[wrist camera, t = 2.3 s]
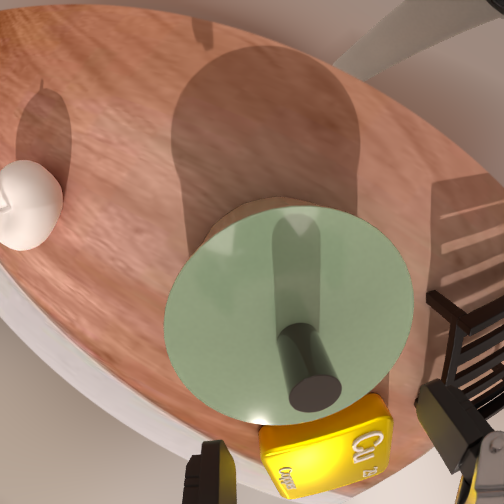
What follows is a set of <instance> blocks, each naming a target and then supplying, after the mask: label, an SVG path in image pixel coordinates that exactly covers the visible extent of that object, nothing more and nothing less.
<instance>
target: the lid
mask: <svg viewBox="0 0 504 504" xmlns="http://www.w3.org/2000/svg"><path fill="white" fill-rule="evenodd" d="M413 311H414V294H413V287H412V282H411V277H410V275H409V272H408V269H407V266H406V264H405V262H404V260H403V258H402V257H401V255H400V253H399V251H398V250H397V249H396V247H395V246H394V245H393V244H392V242H391V241H390V240H389V239H388V238H387V237H386V236H385V235H384V234H383V233H382V232H380V231H379V230H378V229H377V228H375V227H374V226H372V225H371V224H369V223H368V222H366V221H365V220H363V219H361V218H359V217H357V216H354V215H352V214H350V213H348V212H345V211H342V210H338V209H335V208H331V207H326V206H318V205H310V204H303V205H285V206H279V207H272V208H268V209H265V210H261V211H258V212H255V213H251V214H249V215H247V216H244V217H242V218H240V219H238V220H236V221H233V222H232V223H230V224H228V225H227V226H225V227H224V228H222V229H220V230H219V231H217V232H216V233H214V234H213V235H212V236H211V237H210V238H208V239H207V240H206V241H205V242H204V243H202V244H201V245H200V246H199V247H198V249H197V250H196V251H195V252H194V253H193V254H192V255H191V256H190V257H189V259H188V260H187V261H186V263H185V264H184V266H183V267H182V269H181V270H180V272H179V274H178V275H177V278H176V280H175V282H174V284H173V286H172V288H171V291H170V293H169V297H168V300H167V304H166V307H165V315H164V340H165V345H166V349H167V353H168V356H169V359H170V361H171V364H172V366H173V368H174V370H175V372H176V373H177V375H178V377H179V378H180V380H181V381H182V382H183V383H184V385H185V386H186V387H187V388H188V389H189V390H190V391H191V392H192V393H193V394H194V395H195V396H196V397H197V398H198V399H199V400H201V401H202V402H203V403H205V404H206V405H207V406H209V407H211V408H212V409H214V410H216V411H218V412H220V413H222V414H224V415H226V416H229V417H231V418H234V419H238V420H241V421H244V422H249V423H255V424H262V425H291V424H299V423H304V422H309V421H313V420H317V419H320V418H323V417H326V416H329V415H331V414H334V413H336V412H338V411H340V410H342V409H344V408H346V407H348V406H350V405H351V404H353V403H354V402H356V401H357V400H359V399H361V398H362V397H363V396H365V395H366V394H367V393H368V392H370V391H371V390H372V389H373V388H374V387H375V386H376V385H377V384H378V383H379V382H380V381H381V380H382V379H383V378H384V377H385V376H386V374H387V373H388V372H389V371H390V370H391V368H392V367H393V365H394V364H395V362H396V361H397V359H398V358H399V356H400V354H401V352H402V350H403V348H404V346H405V344H406V341H407V338H408V335H409V333H410V329H411V324H412V320H413Z"/></svg>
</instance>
